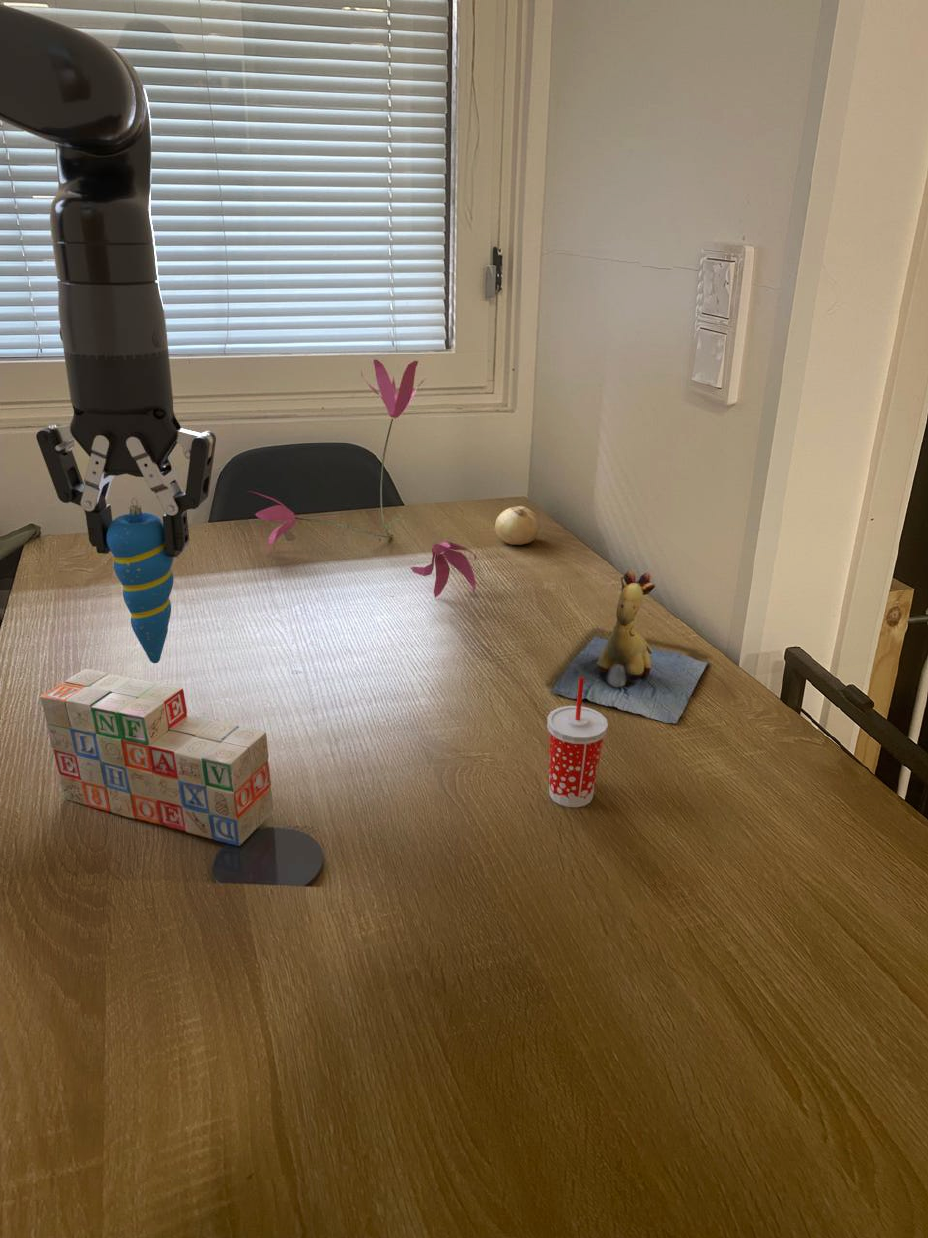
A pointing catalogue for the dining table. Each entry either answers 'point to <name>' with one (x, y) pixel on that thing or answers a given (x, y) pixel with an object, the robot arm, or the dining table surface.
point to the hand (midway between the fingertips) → (140, 551)
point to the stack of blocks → (156, 757)
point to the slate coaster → (270, 859)
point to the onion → (517, 526)
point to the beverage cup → (574, 752)
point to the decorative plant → (395, 408)
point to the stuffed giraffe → (632, 666)
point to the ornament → (143, 575)
